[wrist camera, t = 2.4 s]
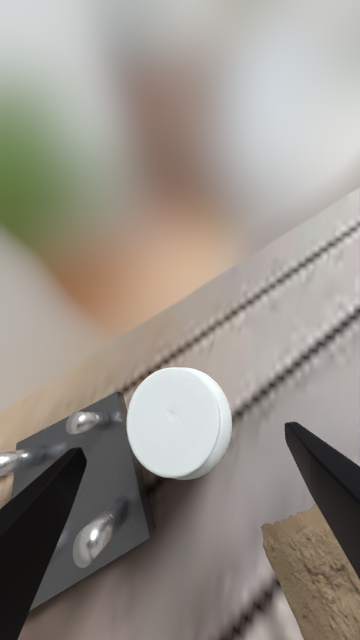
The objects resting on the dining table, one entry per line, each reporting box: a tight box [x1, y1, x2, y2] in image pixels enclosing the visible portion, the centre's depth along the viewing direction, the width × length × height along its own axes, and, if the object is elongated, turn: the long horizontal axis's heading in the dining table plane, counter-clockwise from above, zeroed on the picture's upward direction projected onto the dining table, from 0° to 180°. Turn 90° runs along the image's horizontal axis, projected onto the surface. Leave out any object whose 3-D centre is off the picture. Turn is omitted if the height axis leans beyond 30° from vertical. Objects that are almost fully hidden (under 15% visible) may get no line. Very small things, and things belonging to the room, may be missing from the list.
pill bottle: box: [126, 368, 232, 480], centre depth 11 cm, size 5×5×10 cm
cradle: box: [0, 392, 155, 611], centre depth 12 cm, size 10×10×5 cm
